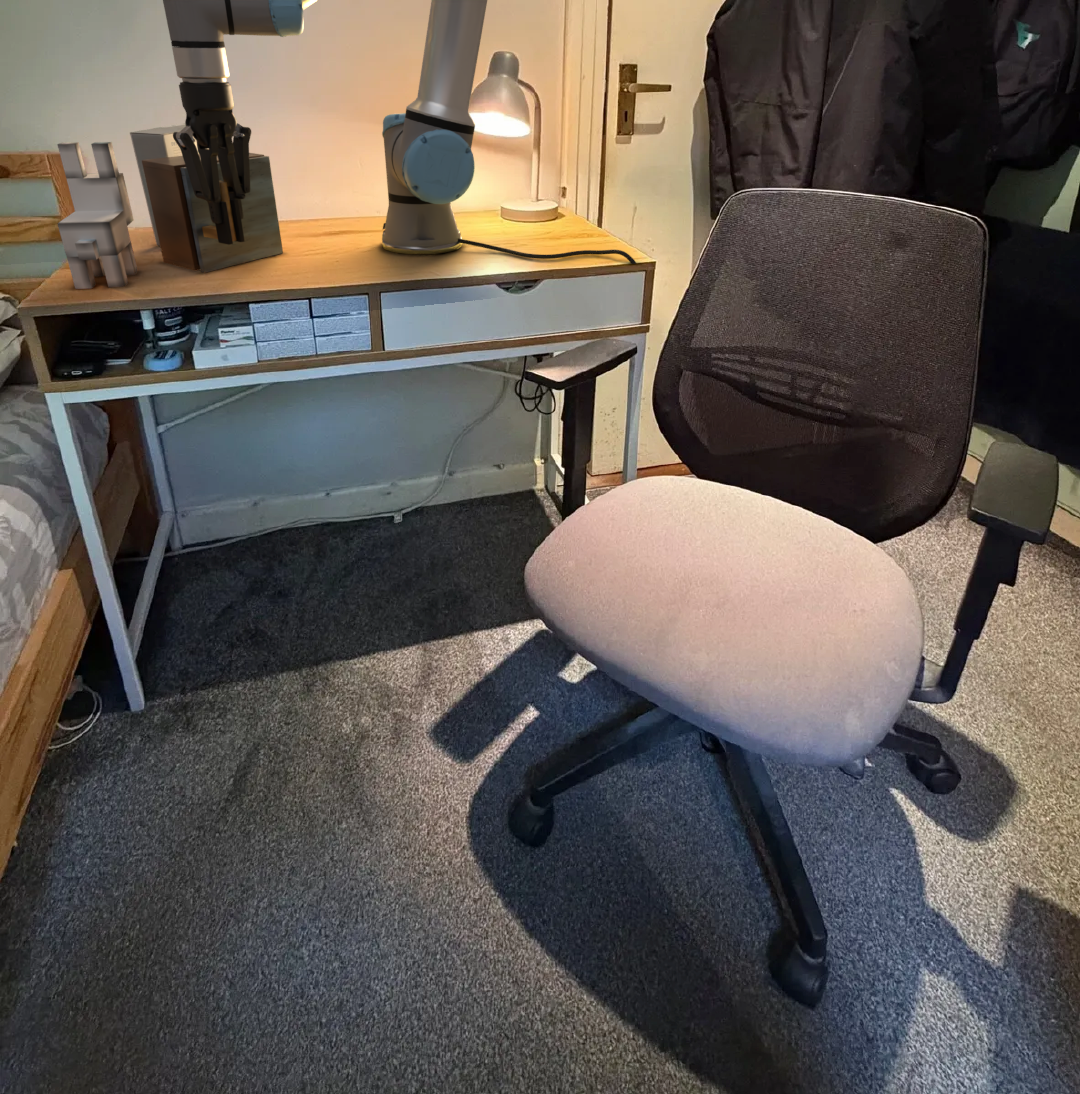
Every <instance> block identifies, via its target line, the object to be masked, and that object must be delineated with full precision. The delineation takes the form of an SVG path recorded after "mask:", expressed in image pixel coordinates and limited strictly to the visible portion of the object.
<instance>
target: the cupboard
mask: <svg viewBox="0 0 1080 1094" xmlns="http://www.w3.org/2000/svg"><path fill="white" fill-rule="evenodd" d="M261 156H265V155H264V154H261V153H255V152H249V158H254V157H261ZM199 157H200V154H199ZM200 161H201V157H200ZM218 162H219V159H218V155H217V163H218ZM142 165H143V169H144V174H145V179H146V183H147V188H148V192H149V197H150V201H151V206H152V210H153V215H154V220H155V224H156V229H157V233H158V238H159V242H160V246H159V247H160V252H161V256H162V261H163V263H165V264H168V265H172V266H176V267H180V268H184V269H187V270H190V271H194V272H195V271H201V270H200V265H199V260H198V255H197V250H196V245H195V240H194V234H193V229H192V224H191V219H190V214H189V209H188V204H187V199H186V194H185V189H184V184H183V179H182V174H181V169H180V168H182V167H186V165H185V162H184V159H183V156H175V157H166V158H157V159H148V160H142Z"/></svg>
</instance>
